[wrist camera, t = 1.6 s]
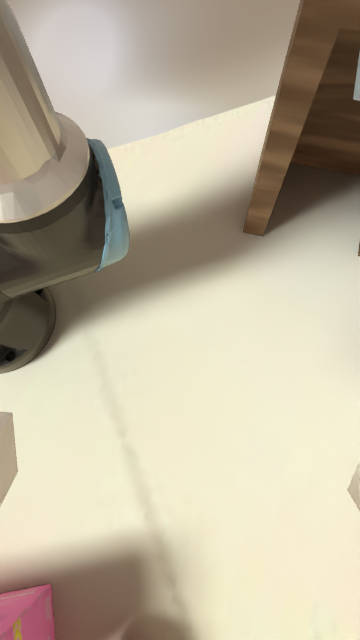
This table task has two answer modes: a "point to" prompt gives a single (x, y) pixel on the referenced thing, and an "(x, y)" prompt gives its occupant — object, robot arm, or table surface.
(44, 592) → the gum box
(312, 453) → the table surface
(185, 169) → the table surface
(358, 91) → the rod
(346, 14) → the shelf
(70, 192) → the robot arm
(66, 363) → the table surface
